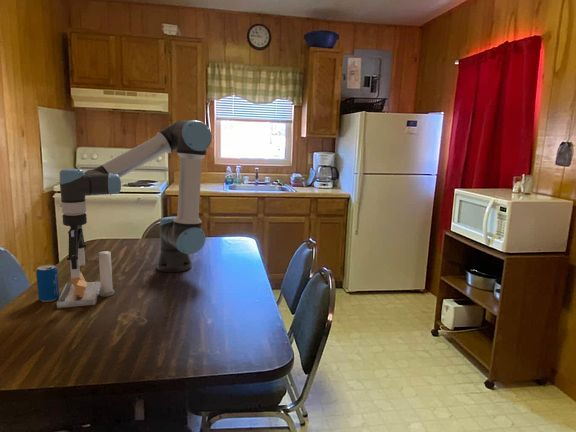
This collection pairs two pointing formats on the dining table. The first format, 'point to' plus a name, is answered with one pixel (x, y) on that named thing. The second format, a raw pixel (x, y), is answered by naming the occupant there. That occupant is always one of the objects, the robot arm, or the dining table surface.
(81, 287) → the paddle
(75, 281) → the paddle
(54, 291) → the beverage can
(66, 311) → the dining table surface
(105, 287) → the white rounded smooth part
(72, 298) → the breaker plate
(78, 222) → the robot arm
